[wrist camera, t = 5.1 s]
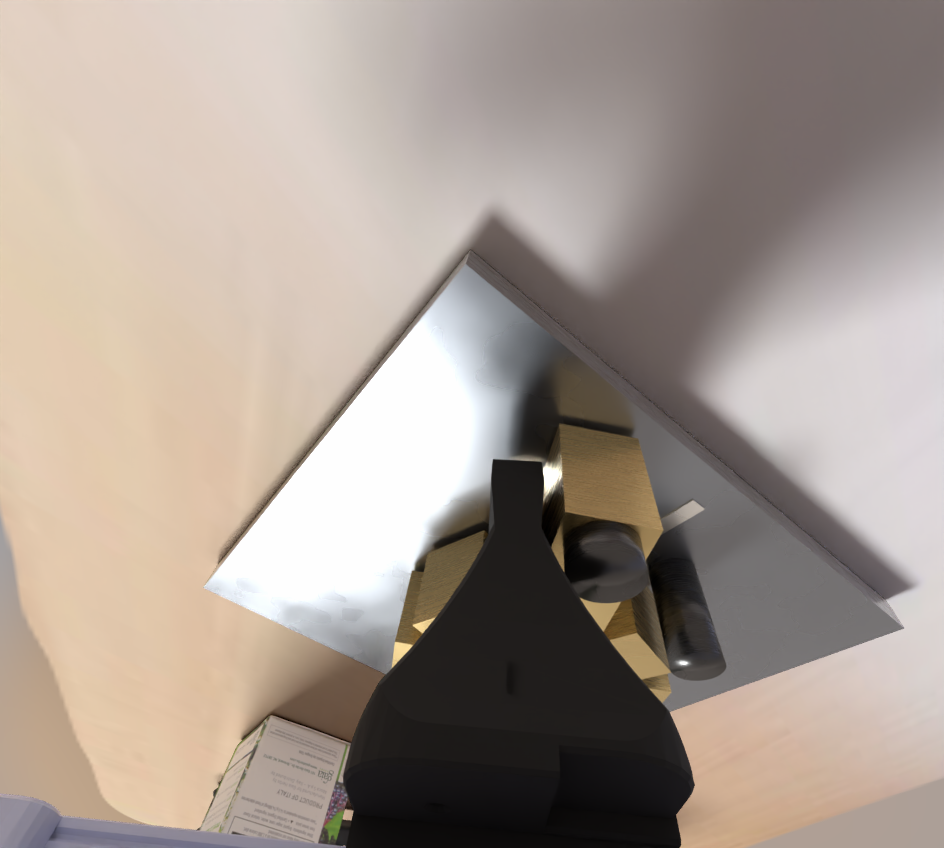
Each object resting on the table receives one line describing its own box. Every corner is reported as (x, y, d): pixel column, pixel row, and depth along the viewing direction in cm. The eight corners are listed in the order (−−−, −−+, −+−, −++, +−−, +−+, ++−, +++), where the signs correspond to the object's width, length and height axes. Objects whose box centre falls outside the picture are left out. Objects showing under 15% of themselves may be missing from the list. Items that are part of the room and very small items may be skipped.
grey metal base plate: (886, 600, 17) (970, 730, 13) (552, 731, 25) (554, 830, 22) (470, 249, 11) (445, 326, 8) (216, 565, 19) (153, 666, 16)
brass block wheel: (604, 688, 20) (617, 804, 17) (400, 651, 19) (375, 760, 16) (759, 461, 12) (833, 593, 9) (436, 399, 12) (403, 512, 9)
